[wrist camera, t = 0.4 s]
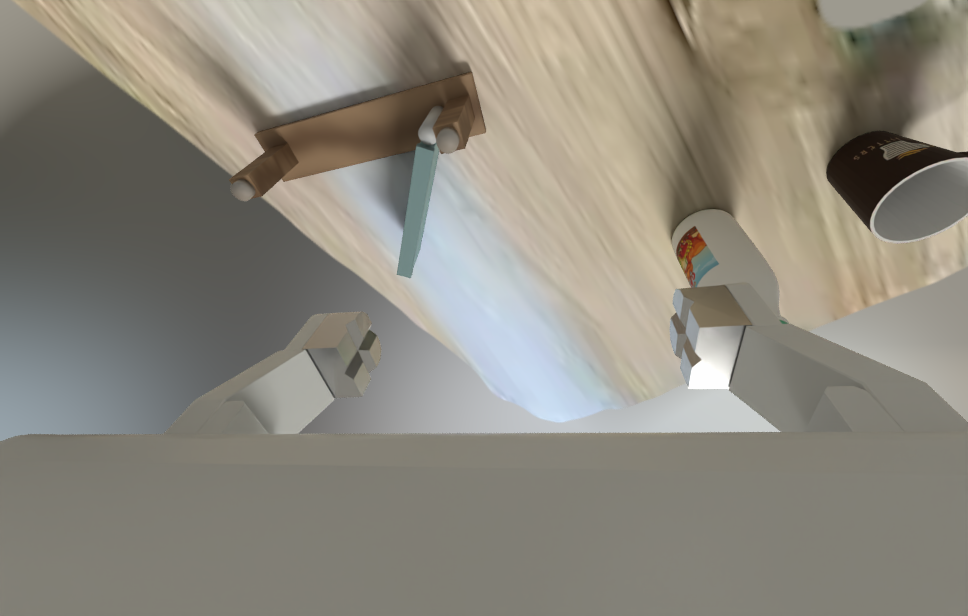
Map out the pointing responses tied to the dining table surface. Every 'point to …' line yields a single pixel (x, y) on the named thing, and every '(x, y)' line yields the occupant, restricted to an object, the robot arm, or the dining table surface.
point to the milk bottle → (723, 256)
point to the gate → (419, 193)
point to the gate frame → (363, 134)
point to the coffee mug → (901, 185)
